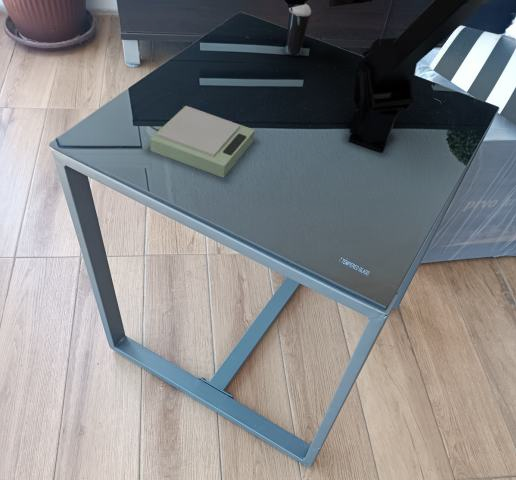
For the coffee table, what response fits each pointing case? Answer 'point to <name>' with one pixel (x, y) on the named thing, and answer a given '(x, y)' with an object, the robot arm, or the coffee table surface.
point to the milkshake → (297, 28)
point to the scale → (202, 141)
